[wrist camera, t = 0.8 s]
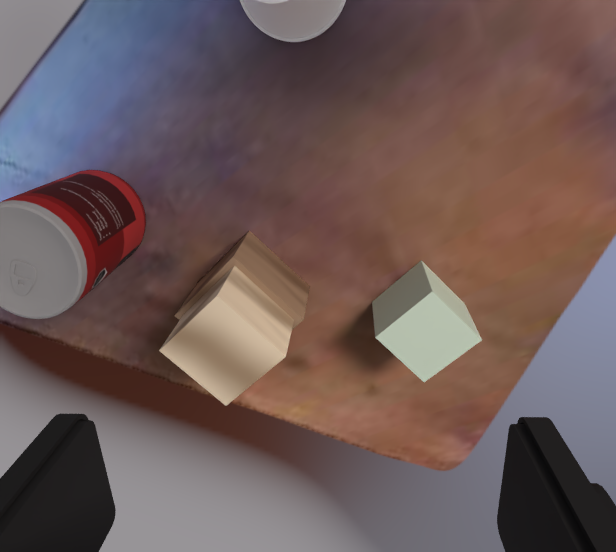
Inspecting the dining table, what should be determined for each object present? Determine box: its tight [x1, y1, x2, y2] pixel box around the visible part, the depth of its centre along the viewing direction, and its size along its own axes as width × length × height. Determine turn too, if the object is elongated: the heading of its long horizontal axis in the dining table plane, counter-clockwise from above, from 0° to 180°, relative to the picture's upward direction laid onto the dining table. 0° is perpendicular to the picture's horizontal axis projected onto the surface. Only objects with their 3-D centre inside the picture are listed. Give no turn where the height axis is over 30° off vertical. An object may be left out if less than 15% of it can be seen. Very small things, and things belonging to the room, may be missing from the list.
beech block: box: [159, 266, 294, 405], centre depth 34 cm, size 6×6×5 cm
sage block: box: [372, 261, 482, 382], centre depth 39 cm, size 6×6×6 cm
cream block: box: [175, 231, 310, 329], centre depth 39 cm, size 7×7×6 cm
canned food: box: [0, 170, 146, 319], centre depth 35 cm, size 8×8×11 cm
